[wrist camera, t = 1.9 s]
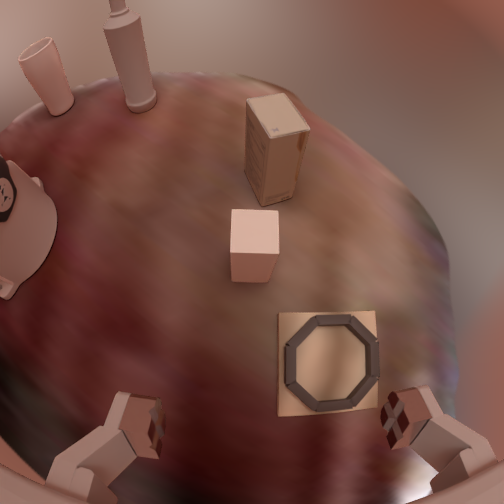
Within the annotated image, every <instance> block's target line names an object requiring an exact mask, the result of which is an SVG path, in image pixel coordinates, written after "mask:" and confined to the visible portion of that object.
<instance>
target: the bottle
mask: <svg viewBox="0 0 504 504" xmlns="http://www.w3.org/2000/svg"><path fill="white" fill-rule="evenodd" d="M109 3H110V7H111V13H110V17H109V18H108V20H107V21H106V23H105V24H104V25H103V29H104V33H105V36H106V39H107V42H108V45H109V48H110V52H111V55H112V58H113V61H114V64H115V67H116V70H117V72H118V76H119V79H120V81H121V84H122V87H123V90H124V93H125V96H126V104H127V106H128V108H129V109H130V110H131V111H132V112H134V113H142V112H145V111H148V110H150V109H151V108H153V106H154V105H155V104H156V101H157V95H156V91H155V89H154V88H153V84H152V79H151V74H150V69H149V64H148V59H147V53H146V49H145V42H144V37H143V31H142V25H141V18H140V15H139V14H138V13H136V12H133V11H130V10H129V7H126V5H125V0H109Z"/></svg>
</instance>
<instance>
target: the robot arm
mask: <svg viewBox="0 0 504 504" xmlns="http://www.w3.org/2000/svg"><path fill="white" fill-rule="evenodd" d="M56 227H57V213H56V208H55V205H54V203H53V201H52V199H51V198H50V197H49V196H48V195H47V194H46V193H45V192H44V188H43V183H42V181H41V180H40V179H39V178H38V177H33V178H30V177H29V176H28V175H27V174H26V173H25V172H24V171H23V170H22V169H20V168H19V167H18V166H17V165H16V164H15V163H14V162H13V161H11V160H8V161H5V160H4V159H3V157H2V156H1V154H0V297H2V298H3V299H5V300H9V299H10V298H11V297H12V296H13V295H14V293H15V291H16V290H17V288H18V287H19V285H20V284H21V283H22V282H23V281H25V280H26V279H27V278H29V277H30V276H31V275H32V274H33V273H34V272H35V271H36V270H37V269H38V268H39V267H40V265H41V264H42V263H43V261H44V260H45V258H46V256H47V255H48V253H49V251H50V248H51V246H52V243H53V240H54V237H55V233H56ZM1 288H2V289H1ZM388 400H389V401H388V402H387V403H386V404H385V405H384V406H383V408H382V410H381V423H382V426H383V428H384V429H386V430H387V431H388V433H387V436H386V437H387V440H388V443H389V446H390V448H391V450H392V449H397V448H402V447H406V446H410V447H411V448H412V449H413V450H414V451H415V452H416V453H417V454H419V455H420V456H421V457H422V458H423V459H424V460H425V461H426V462H428V463H429V464H430V465H431V466H432V467H433V468H434V469H435V470H437V471H438V472H439V473H438V474H437V475H436V476H435V477H434V478H433V479H432V480H431V482H430V485H431V488H432V491H433V493H434V494H431V495H429V496H426V497H423V498H421V499H418V500H415V501H412V502H409V503H406V504H504V459H503V460H501V461H500V462H498V460H497V458H496V456H495V454H494V452H493V450H492V448H491V446H490V444H489V443H488V440H487V439H486V438H484V437H483V436H481V435H479V434H478V433H476V432H474V431H473V430H471V429H470V428H468V427H466V426H465V425H463V424H462V423H460V422H458V421H457V420H455V419H454V418H452V417H450V416H449V415H447V414H445V415H444V414H443V412H442V410H441V409H440V407H439V405H438V403H437V401H436V399H435V398H434V396H433V394H432V392H431V390H430V388H429V387H428V386H427V385H423V386H418V387H412V388H407V389H402V390H397V391H392V392H391V393H390V394H389V396H388ZM161 405H162V402H161V399H160V398H158V397H151V396H145V395H138V394H132V393H126V392H120V391H118V393H117V394H116V395H115V397H114V400H113V403H112V405H111V408H110V410H109V413H108V416H107V418H106V421H105V424H104V426H99V427H97V428H96V429H95V430H93V431H92V432H90V433H89V434H88V435H86V436H85V437H83V438H82V439H81V440H79V441H78V442H76V443H75V444H73V445H72V446H71V447H69V448H68V449H66V450H65V451H63V452H62V453H60V454H59V455H58V456H56V457H55V459H54V462H53V464H52V467H51V469H50V472H49V474H48V477H47V480H46V482H45V485H41V484H39V483H37V482H35V481H33V480H31V479H28V478H27V477H25V476H23V475H20V474H19V473H16V472H15V471H13V470H11V469H9V468H7V467H6V466H4V465H2V464H0V504H117V500H118V498H117V497H116V495H115V494H114V493H113V492H112V491H111V490H110V489H109V488H108V487H107V486H108V485H109V484H110V483H111V482H112V481H113V480H114V479H115V478H116V477H117V476H118V475H119V474H120V473H121V472H122V471H123V470H124V469H125V468H126V467H127V466H128V465H129V464H130V463H131V462H132V461H133V460H134V459H135V458H136V457H137V456H140V457H147V458H154V459H159V458H160V453H161V448H162V442H161V440H160V438H161V437H162V436H163V435H164V434H165V428H166V416H165V412H164V410H162V409H161Z"/></svg>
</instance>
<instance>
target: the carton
mask: <svg viewBox="0 0 504 504" xmlns="http://www.w3.org/2000/svg"><path fill="white" fill-rule="evenodd" d="M278 256H279V224H278V211H271V210H243V209H232V220H231V243H230V260H231V279H232V282H258V283H268V282H269V279H270V277H271V274H272V272H273V269H274V266H275V264H276V261H277V258H278Z"/></svg>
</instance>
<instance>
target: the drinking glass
mask: <svg viewBox="0 0 504 504" xmlns="http://www.w3.org/2000/svg"><path fill="white" fill-rule="evenodd" d="M18 61H19V64H20V66H21V68H22V70H23V72H24V74H25V76H26V78H27V79H28V81H29V82H30V84H31V85H32V87H33V88H34V90H35V91H36V92H37V94H38V95H39V97H40V98H41V99H42V101H43V102H44V104H45V105H46V107H47V108H48V110H49V112H50V113H51V114H52V115H54V116H58V115H61V114H63V113H65V112H66V111H68V110H69V109H70V108H71V106H72V105H73V103H74V97H73V95H72V93H71V90H70V87H69V84H68V81H67V78H66V75H65V72H64V69H63V66H62V62H61V59H60V56H59V53H58V50H57V48H56V46H55V43H54V41H53V39H52V38H51V37H47V38H43V39H41V40H39V41H37V42H35V43H34V44H32V45H31V46H29V47H28V48H27V49H25V50H24V51H23V52H22V53H21V54H20V56H19V58H18Z"/></svg>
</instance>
